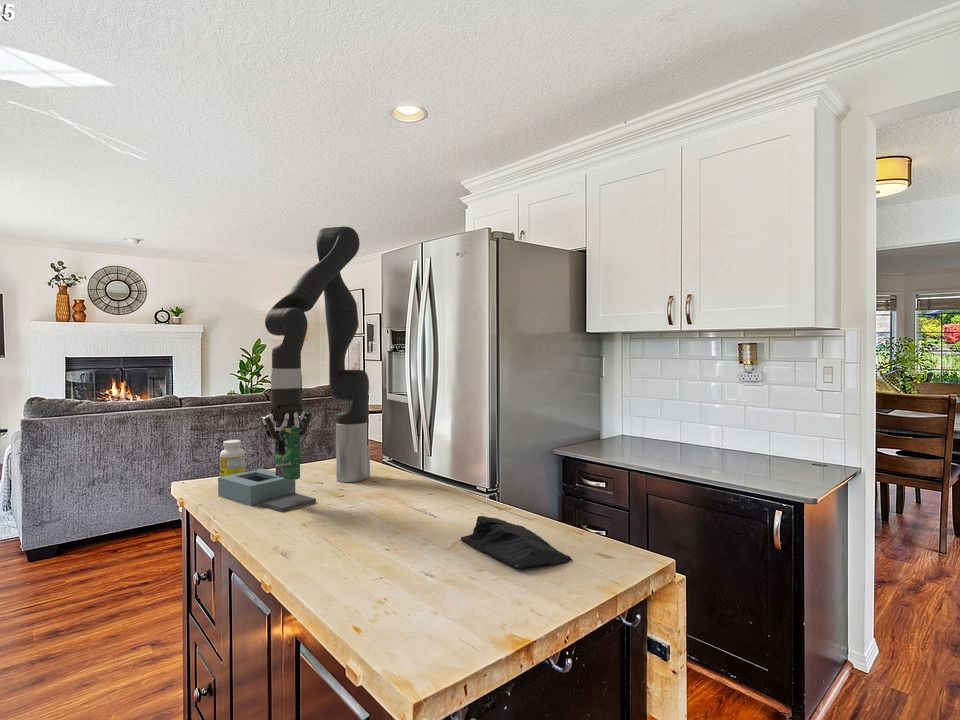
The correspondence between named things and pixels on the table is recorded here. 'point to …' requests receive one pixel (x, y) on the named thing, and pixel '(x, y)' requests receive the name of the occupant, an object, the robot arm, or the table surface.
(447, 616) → the table surface
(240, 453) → the supplement bottle
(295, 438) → the coffee box
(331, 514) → the table surface
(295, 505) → the rubber mat
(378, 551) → the table surface
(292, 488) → the box
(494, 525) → the black cloth
